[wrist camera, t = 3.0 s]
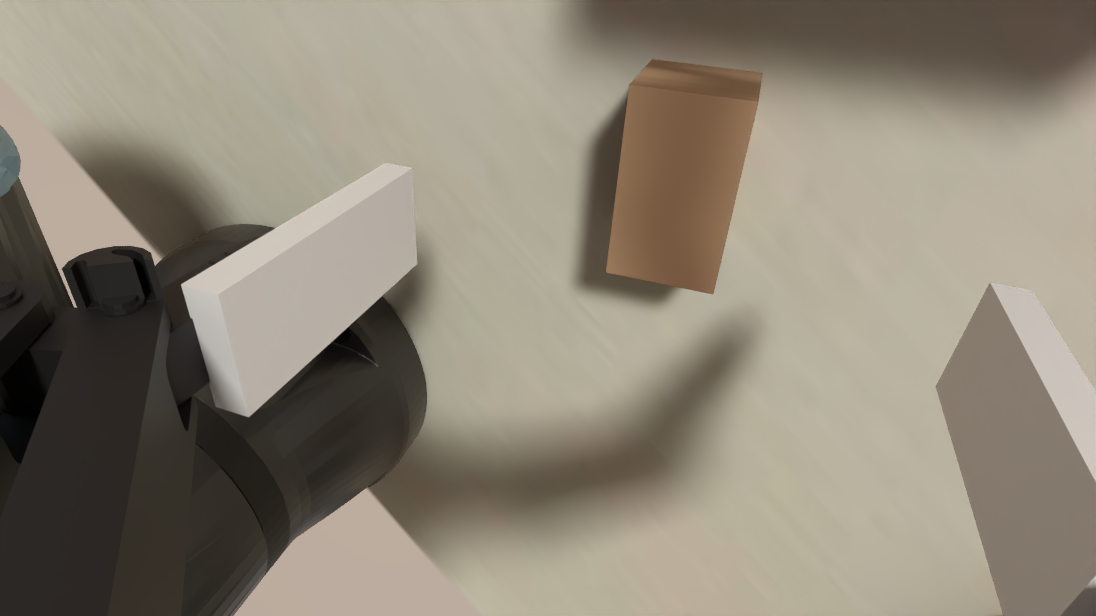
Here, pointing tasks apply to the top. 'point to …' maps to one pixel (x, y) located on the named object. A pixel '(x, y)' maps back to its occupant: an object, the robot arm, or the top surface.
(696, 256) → the block
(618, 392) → the top surface
